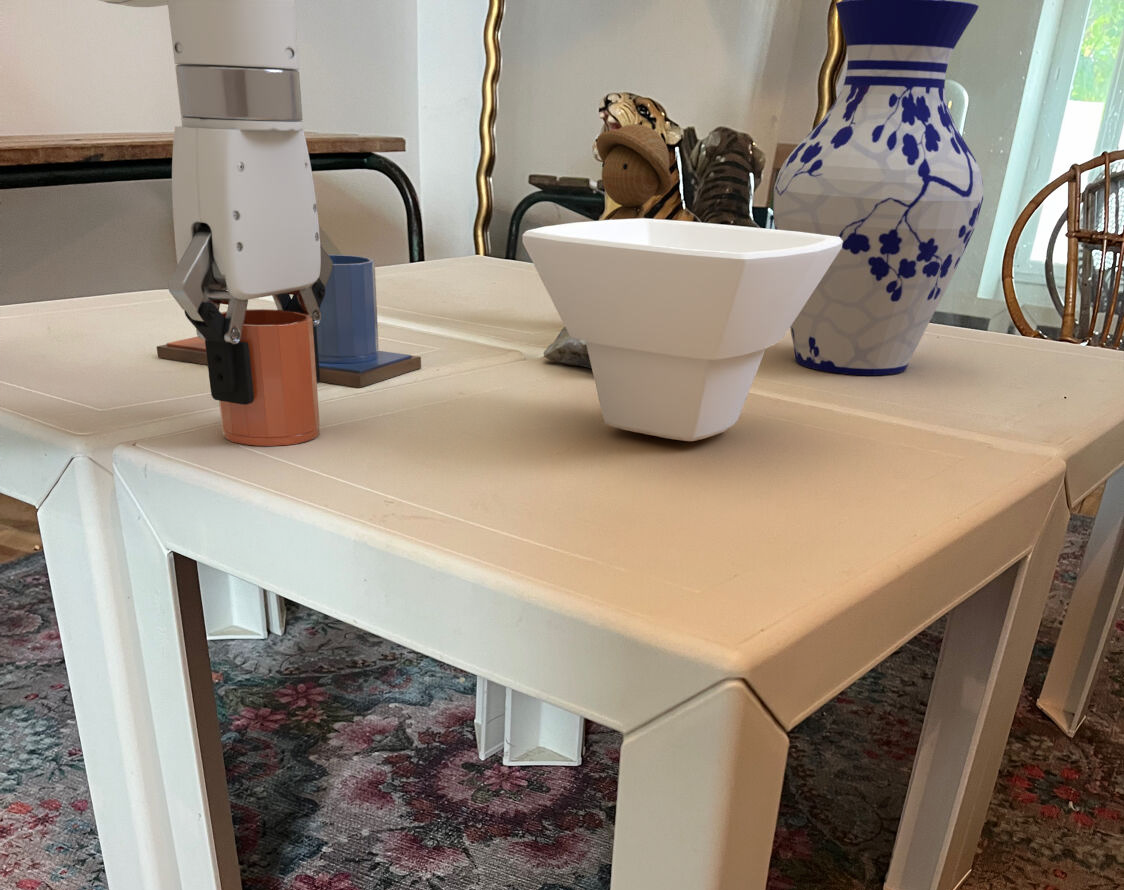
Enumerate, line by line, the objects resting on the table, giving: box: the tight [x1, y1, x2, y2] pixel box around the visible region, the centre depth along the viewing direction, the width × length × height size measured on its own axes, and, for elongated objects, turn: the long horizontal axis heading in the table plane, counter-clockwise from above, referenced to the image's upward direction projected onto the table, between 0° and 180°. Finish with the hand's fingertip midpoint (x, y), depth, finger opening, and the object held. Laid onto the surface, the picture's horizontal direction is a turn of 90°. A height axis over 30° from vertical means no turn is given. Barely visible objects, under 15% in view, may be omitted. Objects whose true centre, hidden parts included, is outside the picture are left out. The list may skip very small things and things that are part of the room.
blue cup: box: [313, 254, 380, 364], centre depth 98 cm, size 7×7×8 cm
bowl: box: [522, 217, 843, 442], centre depth 82 cm, size 19×19×14 cm
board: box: [156, 336, 422, 389], centre depth 103 cm, size 22×10×1 cm, turn 65°
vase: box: [772, 0, 984, 376], centre depth 104 cm, size 19×19×30 cm
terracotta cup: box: [218, 308, 321, 447], centre depth 79 cm, size 7×7×8 cm
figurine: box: [595, 123, 673, 220], centre depth 119 cm, size 9×7×20 cm
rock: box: [543, 325, 592, 369], centre depth 105 cm, size 11×6×10 cm
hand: (267, 389), depth 80 cm, fingers closed on terracotta cup, 6 cm apart
